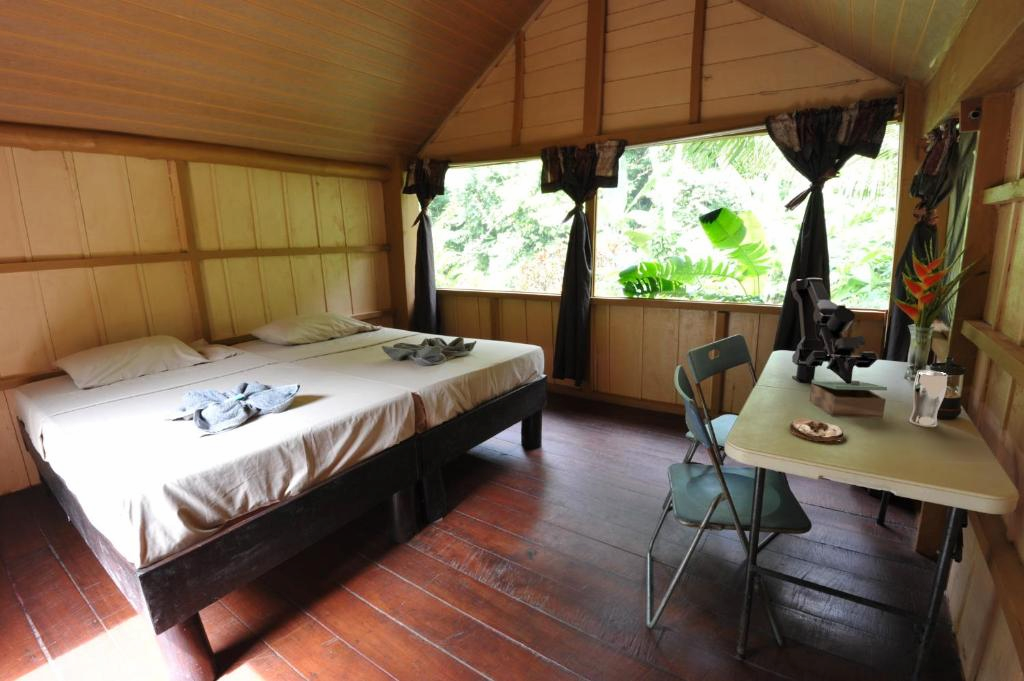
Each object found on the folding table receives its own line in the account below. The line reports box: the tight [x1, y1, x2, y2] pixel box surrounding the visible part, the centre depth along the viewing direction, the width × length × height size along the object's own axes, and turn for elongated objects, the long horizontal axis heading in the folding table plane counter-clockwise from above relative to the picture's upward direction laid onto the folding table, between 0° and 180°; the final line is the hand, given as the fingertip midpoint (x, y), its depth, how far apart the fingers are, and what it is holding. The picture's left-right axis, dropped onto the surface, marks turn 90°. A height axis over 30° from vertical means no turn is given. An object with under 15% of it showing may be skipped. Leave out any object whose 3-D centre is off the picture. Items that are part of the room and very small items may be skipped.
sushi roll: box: [789, 417, 844, 443], centre depth 134 cm, size 15×15×4 cm
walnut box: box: [808, 382, 887, 419], centre depth 151 cm, size 14×14×6 cm
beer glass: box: [909, 369, 948, 428], centre depth 139 cm, size 7×7×15 cm
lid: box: [811, 379, 888, 391], centre depth 150 cm, size 14×14×2 cm
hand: (849, 383), depth 149 cm, fingers closed, pressing on lid
